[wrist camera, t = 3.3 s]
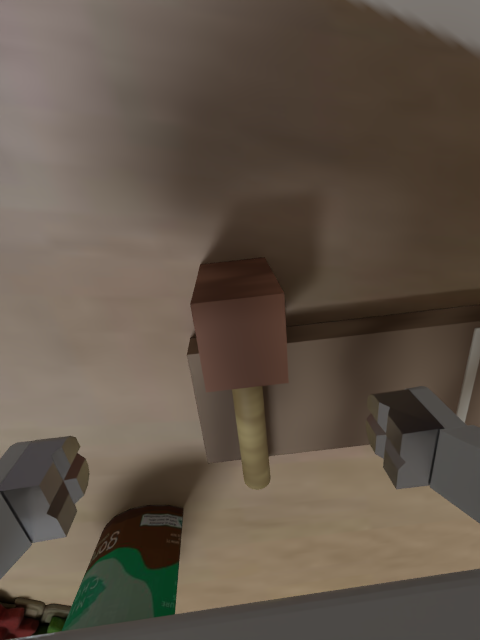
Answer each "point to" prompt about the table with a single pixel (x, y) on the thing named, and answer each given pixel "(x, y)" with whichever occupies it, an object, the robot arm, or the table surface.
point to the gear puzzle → (31, 618)
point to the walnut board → (350, 379)
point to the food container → (131, 569)
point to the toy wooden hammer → (242, 348)
